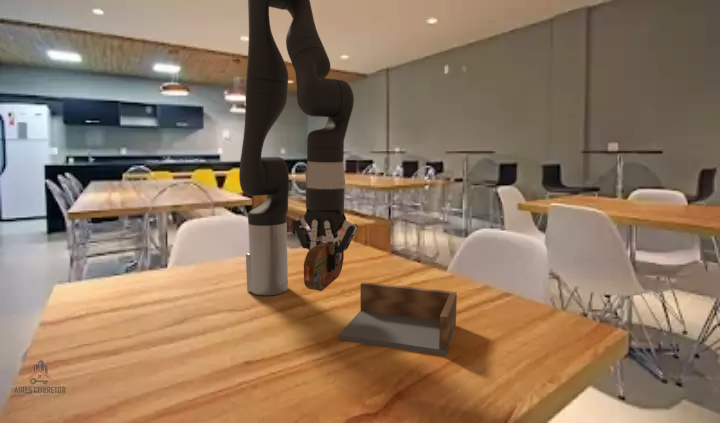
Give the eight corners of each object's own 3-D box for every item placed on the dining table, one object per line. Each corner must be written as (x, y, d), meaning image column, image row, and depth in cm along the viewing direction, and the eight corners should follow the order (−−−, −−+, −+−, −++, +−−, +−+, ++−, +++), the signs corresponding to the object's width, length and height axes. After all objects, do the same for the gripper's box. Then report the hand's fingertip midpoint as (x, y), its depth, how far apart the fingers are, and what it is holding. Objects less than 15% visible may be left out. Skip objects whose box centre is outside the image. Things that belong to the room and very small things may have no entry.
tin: (314, 297, 82) (317, 254, 80) (299, 294, 83) (301, 251, 81) (343, 273, 96) (346, 235, 94) (330, 270, 97) (333, 233, 95)
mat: (338, 339, 83) (338, 334, 83) (362, 313, 96) (362, 308, 96) (445, 355, 77) (446, 350, 76) (455, 325, 90) (455, 320, 90)
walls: (338, 334, 83) (338, 303, 82) (362, 308, 96) (362, 281, 95) (446, 350, 76) (447, 317, 76) (455, 320, 90) (456, 291, 89)
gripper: (283, 184, 85) (284, 271, 88) (352, 189, 80) (350, 280, 83) (301, 181, 92) (301, 261, 95) (365, 185, 87) (363, 269, 90)
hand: (324, 270), depth 89 cm, fingers closed on tin, 2 cm apart
